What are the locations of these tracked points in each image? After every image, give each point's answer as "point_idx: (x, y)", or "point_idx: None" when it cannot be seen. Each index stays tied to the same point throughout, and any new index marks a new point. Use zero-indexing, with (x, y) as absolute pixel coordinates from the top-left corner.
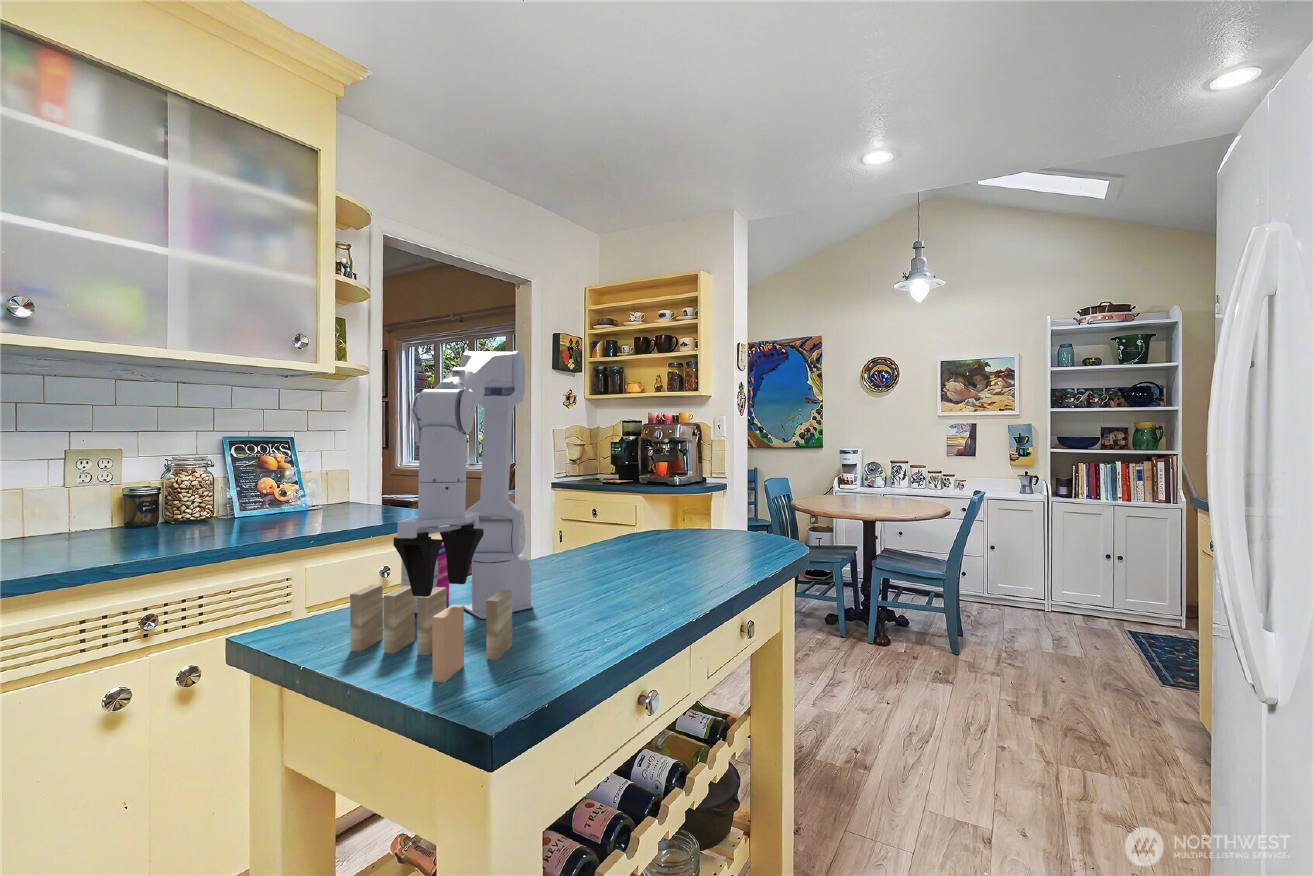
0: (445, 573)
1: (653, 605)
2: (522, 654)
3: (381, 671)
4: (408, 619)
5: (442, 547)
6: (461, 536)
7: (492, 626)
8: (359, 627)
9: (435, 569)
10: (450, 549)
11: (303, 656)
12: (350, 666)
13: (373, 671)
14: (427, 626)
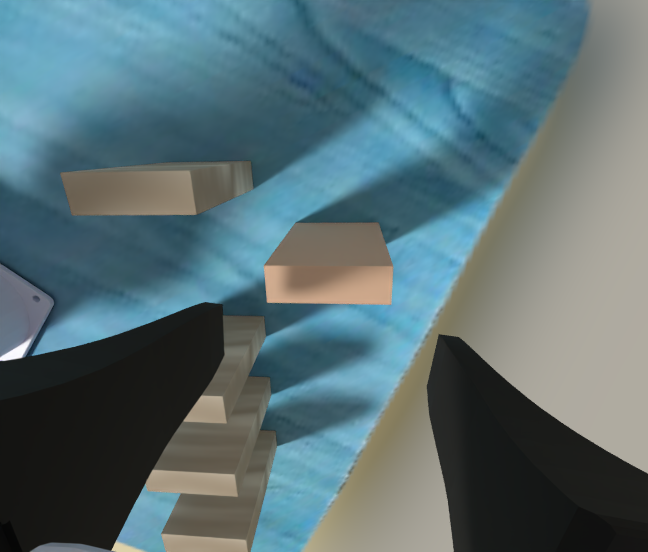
0: None
1: None
2: (204, 113)
3: (347, 359)
4: None
5: None
6: (56, 488)
7: (224, 181)
8: (265, 470)
9: None
10: (136, 466)
11: (312, 493)
12: (335, 414)
13: (349, 371)
14: (246, 350)
